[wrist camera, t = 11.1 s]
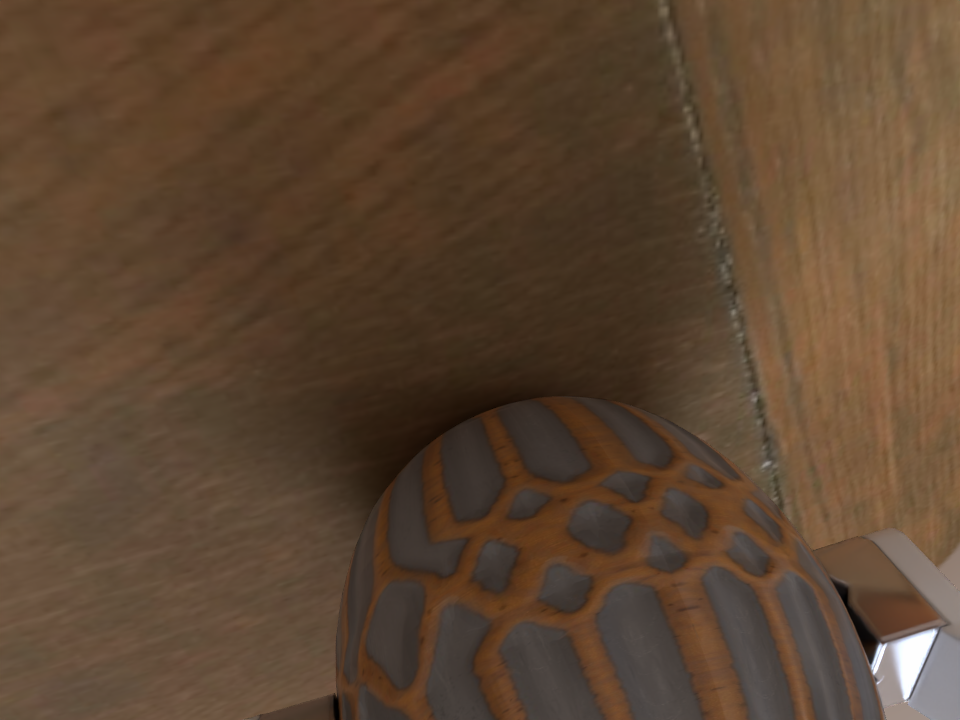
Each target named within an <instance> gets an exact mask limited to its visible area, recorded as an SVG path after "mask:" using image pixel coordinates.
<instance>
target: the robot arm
mask: <svg viewBox="0 0 960 720" xmlns="http://www.w3.org/2000/svg"><path fill="white" fill-rule="evenodd" d="M813 552H814V553H815V555H816V556H817V558H818V559H819V560H820V562H821V564H822V565H823V567H824V569H825V570H826V572H827V574H828V576H829V577H830V579H831V581H832V583H833V584H834V586H835V588H836V589H837V591H838V593H839V595H840V597H841V599H842V601H843V603H844V605H845V607H846V609H847V611H848V613H849V615H850V618H851V620H852V622H853V624H854V626H855V628H856V631H857V633H858V636H859V638H860V641H861V643H862V646H863V648H864V651H865V653H866V656H867V658H868V661H869V664H870V667H871V670H872V673H873V676H874V679H875V682H876V685H877V688H878V690H879V693H880V696H881V700H882V704H883V708H887V707H891V706H894V705H897V704H900V703H904V702H907V701H909V703H908V705H909V706H911V707H912V708H914V709H916V710H917V711H918V712H920V713H921V714H923V715H924V716H926V717H927V718H929V719H930V720H960V591H959V590H958V589H957V588H956V587H955V586H954V585H953V584H952V583H951V582H950V580H948V578H947V577H946V576H945V575H944V574H943V573H942V572H940V570H939V569H938V568H937V567H936V566H935V565H934V564H933V563H932V562H931V561H930V560H929V559H928V558H927V557H926V556H925V555H924V554H923V553H922V552H921V551H920V550H919V548H918V547H917V546H916V545H915V544H914V543H913V542H912V541H911V540H910V539H909V538H908V537H907V536H906V535H905V534H904V533H903V532H901V531H899V530H897V529H895V528H885V529H882V530H879V531H875V532H872V533H869V534H866V535H862V536H859V537H858V536H857V537H854V538H851V539H847V540H844V541H841V542H838V543H835V544H832V545H829V546H826V547H822V548H819V549H816V550H813ZM244 720H339V713H338V701H337V697H336V695H335V693H334V694H330V695H327V696H324V697H320V698H317V699H314V700H310V701H307V702H303V703H300V704H297V705H293V706H290V707H287V708H283V709H280V710H277V711H273V712H270V713H266V714H260V715H257V716H254V717H250V718H247V719H244Z"/></svg>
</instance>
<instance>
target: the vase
mask: <svg viewBox="0 0 960 720" xmlns="http://www.w3.org/2000/svg"><path fill="white" fill-rule="evenodd" d="M336 688H337V701H338V713H339V720H886V717H885V712H884V708H883V704H882V700H881V696H880V693H879V690H878V688H877V685H876V682H875V679H874V676H873V673H872V670H871V667H870V664H869V661H868V658H867V656H866V653H865V651H864V648H863V646H862V643H861V641H860V638H859V636H858V633H857V631H856V628H855V626H854V624H853V622H852V620H851V618H850V615H849V613H848V611H847V609H846V607H845V605H844V603H843V601H842V599H841V597H840V595H839V593H838V591H837V589H836V588H835V586H834V584H833V583H832V581H831V579H830V577H829V576H828V574H827V572H826V570H825V569H824V567H823V565H822V564H821V562H820V560H819V559H818V558H817V556H816V555H815V553H814V552H813V551H812V549H811V548H810V547H809V545H808V544H807V543H806V541H805V540H804V539H803V537H802V536H801V534H800V533H799V532H798V531H797V529H796V528H795V527H794V525H793V524H792V523H791V522H790V521H789V520H788V518H787V517H786V516H785V515H784V514H783V513H782V511H781V510H780V509H779V508H778V507H777V506H776V504H775V503H774V502H773V501H772V500H771V499H770V498H769V497H768V496H767V495H766V494H765V493H764V492H763V491H762V490H761V489H760V488H759V487H758V486H757V485H756V484H755V483H754V481H753V480H752V479H751V478H750V477H749V476H748V475H747V474H746V473H744V472H743V471H742V470H741V469H740V468H739V467H738V466H737V465H735V464H734V463H733V462H731V461H730V460H729V459H727V458H726V457H725V456H723V455H722V454H721V453H719V452H718V451H717V450H716V449H714V448H713V447H712V446H710V445H709V444H708V443H706V442H705V441H703V440H701V439H700V438H698V437H696V436H695V435H693V434H691V433H690V432H688V431H686V430H684V429H683V428H681V427H679V426H678V425H676V424H674V423H673V422H670V421H668V420H666V419H664V418H662V417H659V416H657V415H655V414H652V413H650V412H647V411H645V410H642V409H640V408H637V407H634V406H631V405H628V404H625V403H621V402H617V401H611V400H605V399H596V398H585V397H574V396H554V397H541V398H534V399H528V400H523V401H519V402H515V403H510V404H507V405H504V406H500V407H497V408H494V409H492V410H489V411H486V412H484V413H481V414H479V415H477V416H474V417H472V418H470V419H468V420H466V421H464V422H462V423H460V424H458V425H457V426H455V427H453V428H452V429H450V430H448V431H447V432H445V433H444V434H442V435H441V436H439V437H438V438H436V439H435V440H434V441H432V442H431V443H430V444H428V445H427V446H426V447H425V448H423V449H422V450H421V451H420V452H419V453H418V454H417V455H416V456H414V458H413V459H412V460H411V461H410V462H409V463H408V464H407V465H406V466H405V467H404V468H403V469H402V470H401V472H400V473H399V474H398V475H397V476H396V478H395V479H394V480H393V481H392V482H391V484H390V485H389V486H388V487H387V489H386V490H385V491H384V493H383V494H382V495H381V497H380V498H379V499H378V501H377V503H376V504H375V506H374V508H373V509H372V511H371V513H370V515H369V517H368V519H367V521H366V523H365V525H364V528H363V530H362V533H361V535H360V538H359V540H358V542H357V545H356V547H355V550H354V553H353V555H352V559H351V562H350V566H349V569H348V573H347V577H346V581H345V585H344V589H343V593H342V599H341V605H340V612H339V620H338V627H337V635H336Z"/></svg>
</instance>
